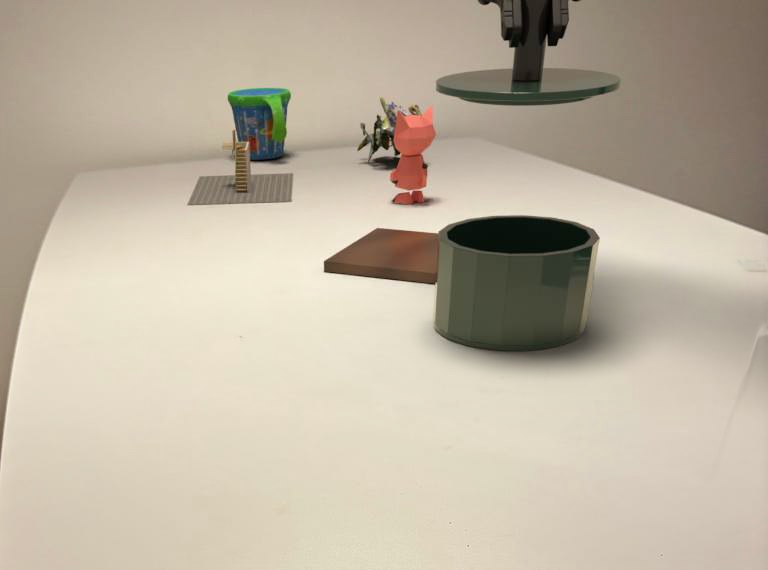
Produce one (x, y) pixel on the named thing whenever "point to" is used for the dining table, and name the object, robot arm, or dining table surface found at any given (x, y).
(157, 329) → the dining table surface
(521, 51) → the lid
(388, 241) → the board
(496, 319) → the pot
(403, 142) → the cat figurine
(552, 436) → the dining table surface
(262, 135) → the snack cup
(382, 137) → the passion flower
